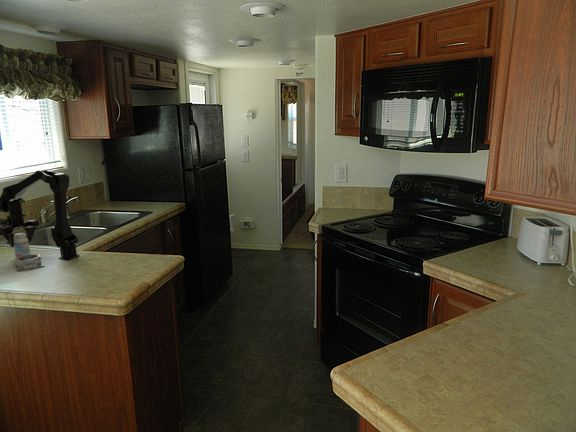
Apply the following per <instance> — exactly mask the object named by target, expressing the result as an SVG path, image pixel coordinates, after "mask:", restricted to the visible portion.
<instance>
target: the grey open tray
mask: <svg viewBox="0 0 576 432" xmlns="http://www.w3.org/2000/svg"><path fill="white" fill-rule="evenodd" d="M15 264H16V265H15V266H16V270H17V272H23V271H29V270H33V269H39V268H44V267H45V265H44V263H43V259H42V257H41V255H40V253H39V254H35V253H34V254H33V253H32V254H31V253H30V255H25V256H21V257H19V258H16V261H15Z"/></svg>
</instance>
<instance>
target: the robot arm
mask: <svg viewBox="0 0 576 432" xmlns="http://www.w3.org/2000/svg"><path fill="white" fill-rule="evenodd" d="M41 181H43V182H44V183H45V184H48V185H49V189H50V190H51V192H52V193H53V203H54V215H55V217H54V219H55V225H54V226H53V227H51V228H50V231H51V232H50V233H51V234H50V237H51V238H52V241H54V243H55V245H56V247H57V248H59V251H60V252H59V253H60V257H58V259H59V260H66V261H67V260H69V261H70V260H72V259H75V258H78V257H80V254H78V252H77V247H76V244H77V243H78V242H79V238H78V236H76V235H75V234H74V233H73V229H72V227H71V225H70V224H69V222H68V207H67V192H68V189H69V187H70V177H69V175H68V174H66V173H65V172H56V171H53V170H52V171H50V170H48V169H46V168H45V169H39V170H38V169H37V170H36V171H35V172H34V173H32V174H31V175H29V176H27V177H26V178H24V179H23V180H21V181H19V182H17V183H14V184H11V185H8V186H6V187H5V186H4V187H3V188H2V193H1V194H0V213H4V214H5V213H6V219H4V218H0V236H2V237H4V238H5V240H6V241H7V242H8V245H9V246H10V247H11V248H14V239H15V238H14V234H15V233H13V232H14V231H15V230H16V231H17V230H19V229H24V231H25V232H26V233H25V234H26V236H27V237H26V238H27V239H28V243H31V242H32V239H33V237H34V235H35V231H36V230H37V229H38V227H39V226H40V221H39V220H37V219H28V220H25V217H26V216H27V215H26V213H24V209H23V204H25V203H26V202H27V201H26V200H25V199H23V198H22V196H23V195H24V194H25V193H26V191H27V190H29V188H32V187H33V186H35V185H36V184H38V183H40V182H41ZM7 214H8V215H7Z"/></svg>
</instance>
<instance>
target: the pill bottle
mask: <svg viewBox="0 0 576 432" xmlns="http://www.w3.org/2000/svg"><path fill="white" fill-rule="evenodd" d="M26 236H27V234H26V233H25V232H17V233H14V247H13V249H14V256H15V258H16V259H17V258H19V257H21V256H25V255H31V251H30V242H28V238H27V237H26Z"/></svg>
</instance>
